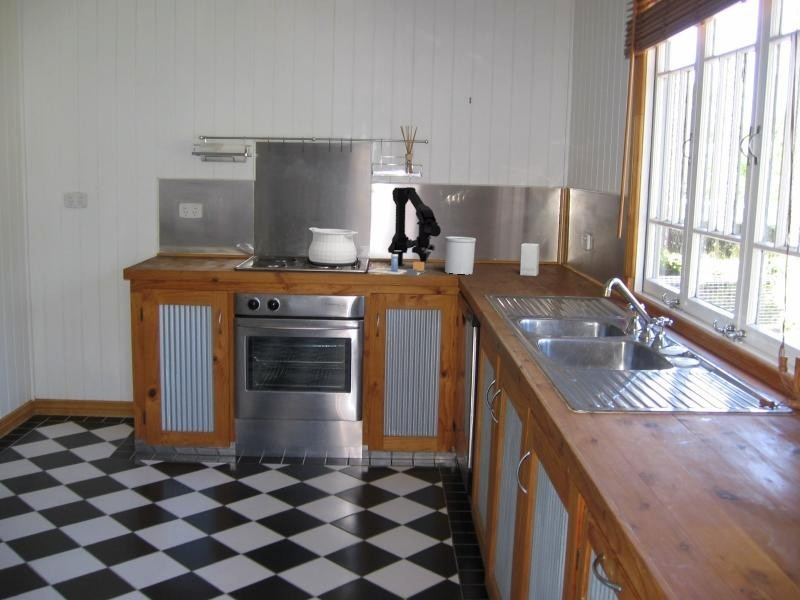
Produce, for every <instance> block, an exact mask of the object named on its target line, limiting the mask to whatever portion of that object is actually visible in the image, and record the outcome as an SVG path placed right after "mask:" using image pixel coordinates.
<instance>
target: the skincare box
mask: <svg viewBox="0 0 800 600" xmlns="http://www.w3.org/2000/svg"><path fill="white" fill-rule="evenodd" d="M520 249H521V250H520V271H519V272H520V274H519V275H520V276H528V277H529V276H530V277H536V276H538V275H539V268H540V267H539V265H540V243H529V242H528V243H522V244H521V245H520Z"/></svg>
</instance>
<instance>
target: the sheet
mask: <svg viewBox="0 0 800 600" xmlns="http://www.w3.org/2000/svg"><path fill="white" fill-rule="evenodd" d="M367 272H368V273H378V274H387V275H388V274H390V275H398V274H399V275H402V274H405V273H407V269H402V268H401V269H399V268H398V271H397V272H392V271H391V268H388V267H377V268H376V267H375V268H372V269H369V270H367ZM404 272H405V273H404Z"/></svg>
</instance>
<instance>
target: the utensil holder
mask: <svg viewBox="0 0 800 600" xmlns="http://www.w3.org/2000/svg"><path fill="white" fill-rule="evenodd" d="M476 241H477V239H476V238H475V237H468V236H445V251H444V253H445V255H444V257H445V259H444V273H445V272H446V274H449V273H453V274H452V275H457V274H465V276H466V275H469V274H470V275H473V270H474V264H475V251H476V250H475V248H476V243H477V242H476Z"/></svg>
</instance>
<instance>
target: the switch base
mask: <svg viewBox="0 0 800 600" xmlns="http://www.w3.org/2000/svg"><path fill="white" fill-rule="evenodd" d="M406 270H407V272H406V276H414V277H417V275H418V276H419V274H420V275H422V274H421V273H423V274H425V273H424V272H426V273H427V271H426V270H425V269H424V270H423V271H417V269H413V268H406Z"/></svg>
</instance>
